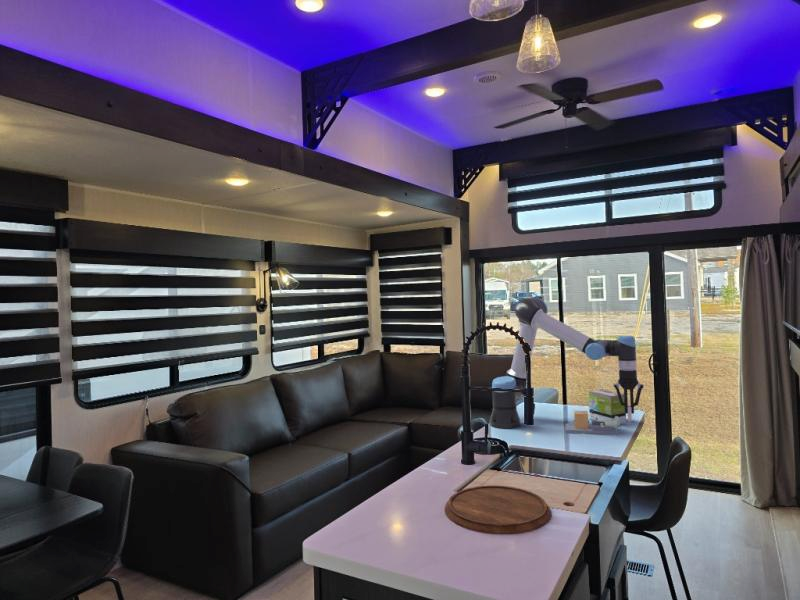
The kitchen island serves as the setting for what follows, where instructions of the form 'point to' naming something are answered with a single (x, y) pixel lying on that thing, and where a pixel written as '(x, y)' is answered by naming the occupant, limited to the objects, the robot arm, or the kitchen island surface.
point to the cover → (612, 422)
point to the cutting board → (497, 510)
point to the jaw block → (581, 419)
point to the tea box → (606, 406)
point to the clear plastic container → (592, 429)
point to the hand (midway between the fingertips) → (629, 420)
